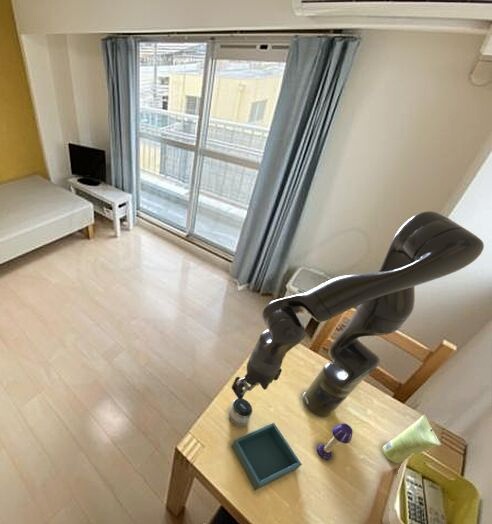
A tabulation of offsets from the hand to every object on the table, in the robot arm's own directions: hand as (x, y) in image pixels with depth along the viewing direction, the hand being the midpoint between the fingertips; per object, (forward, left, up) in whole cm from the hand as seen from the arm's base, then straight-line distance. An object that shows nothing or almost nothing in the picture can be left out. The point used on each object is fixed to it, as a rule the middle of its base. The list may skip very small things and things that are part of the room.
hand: (251, 391), depth 89 cm
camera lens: (+1, 0, -17) cm, 17 cm away
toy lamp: (-18, +18, -17) cm, 31 cm away
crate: (+1, +13, -17) cm, 21 cm away
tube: (-37, +26, -17) cm, 49 cm away
